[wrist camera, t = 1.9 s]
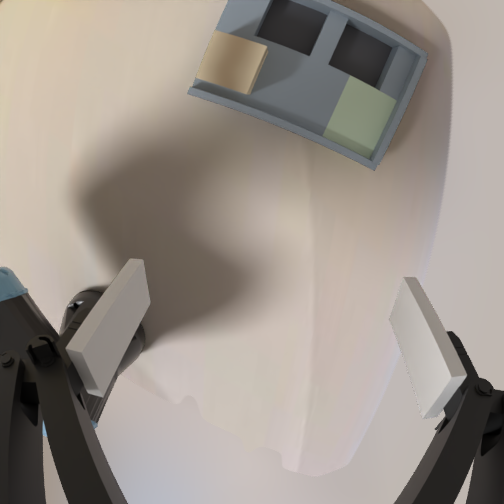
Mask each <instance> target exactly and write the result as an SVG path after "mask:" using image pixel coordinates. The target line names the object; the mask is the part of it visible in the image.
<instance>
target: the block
mask: <svg viewBox="0 0 504 504" xmlns="http://www.w3.org/2000/svg"><path fill="white" fill-rule="evenodd" d="M267 54H268V48H267V46H265V45H262V44H259V43H256V42H253V41H250V40H247V39H244V38H241V37H238V36H234V35H231V34H228V33H224V32H221V31H217V30H215V31H214V33H213V35H212V38H211V40H210V42H209V45H208V47H207V50H206V52H205V54H204V57H203V59H202V62H201V64H200V67H199V70H198V72H197V75H196V77H195V78H198V79H201V80H205V81H208V82H211V83H214V84H217V85H220V86H223V87H226V88H229V89H232V90H235V91H238V92H241V93H244V94H251V91H252V89H253V87H254V84H255V82H256V79H257V77H258V75H259V72H260V70H261V68H262V65H263V63H264V61H265V58H266V56H267Z"/></svg>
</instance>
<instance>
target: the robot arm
mask: <svg viewBox="0 0 504 504" xmlns="http://www.w3.org/2000/svg"><path fill="white" fill-rule="evenodd" d="M150 303H151V301H150V296H149V290H148V284H147V279H146V273H145V267H144V260H143V259H132V258H130V259H129V260H128V262H127V263H126V264H125V266H124V267H123V268H122V269H121V271H120V272H119V273H118V275H117V276H116V277H115V279H114V280H113V281H112V283H111V284H110V285H109V287H108V288H107V289H106V291H105V292H104V293H100V292H95V291H85V292H81V293H79V294H77V295H76V296H75V297H74V298H73V299H72V300H71V302H70V303H69V304H68V306H67V308H66V310H65V313H64V317H63V320H62V324H61V328H60V332H59V335H58V333H57V332H56V331H55V329H54V328H53V327H52V326H51V324H50V323H49V322H48V320H47V319H46V318H45V316H44V315H43V313H42V312H41V311H40V309H39V308H38V307H37V305H36V304H35V302H34V301H33V299H32V298H31V296H30V295H29V294H28V290H27V288H24V286H23V285H22V284H21V282H20V281H19V279H18V278H17V277H16V275H15V274H14V272H13V271H12V270H11V269H9V268H7V267H0V504H46V499H45V488H44V473H43V435H44V436H46V437H47V438H48V442H49V445H50V449H51V452H52V456H53V459H54V462H55V466H56V469H57V472H58V475H59V478H60V481H61V484H62V487H63V490H64V492H65V495H66V498H67V500H68V503H69V504H128V503H127V501H126V499H125V497H124V495H123V493H122V491H121V489H120V487H119V485H118V483H117V481H116V479H115V477H114V475H113V473H112V471H111V468H110V466H109V464H108V462H107V460H106V458H105V455H104V453H103V450H102V448H101V445H100V443H99V440H98V438H97V435H96V433H95V430H94V429H95V428H96V427H97V423H98V421H99V418H100V416H101V414H102V411H103V409H104V406H105V404H106V402H107V400H108V397H109V395H110V393H111V391H112V388H113V386H114V383H115V382H116V379H117V377H118V376H119V375H120V374H121V373H122V372H123V371H124V370H125V369H126V368H128V367H129V366H130V365H131V364H132V363H133V362H134V361H135V360H136V359H137V358H138V357H139V355H140V353H141V351H142V349H143V346H144V343H145V335H144V331H143V328H142V326H141V324H140V322H141V320H142V318H143V317H144V315H145V313H146V311H147V309H148V307H149V305H150ZM389 320H390V322H391V325H392V328H393V330H394V333H395V336H396V339H397V341H398V344H399V347H400V350H401V353H402V355H403V359H404V361H405V364H406V367H407V370H408V374H409V377H410V380H411V383H412V386H413V389H414V392H415V395H416V399H417V402H418V405H419V409H420V413H421V416H422V419H427V418H433V417H437V416H438V415H439V414H440V413H441V411H442V410H443V409H444V412H445V415H446V416H445V417H444V418H443V420H442V421H441V422H440V423H439V424H438V426H437V427H436V428H435V430H437V429H438V430H437V432H436V434H435V436H434V438H433V440H432V442H431V444H430V446H429V447H428V449H427V451H426V453H425V455H424V456H423V458H422V460H421V462H420V464H419V465H418V467H417V469H416V470H415V472H414V474H413V475H412V477H411V478H410V480H409V482H408V483H407V485H406V486H405V488H404V489H403V491H402V493H401V494H400V496H399V497H398V498H397V500H396V501H395V503H394V504H454V502H455V500H456V498H457V496H458V494H459V492H460V489H461V487H462V485H463V483H464V481H465V478H466V476H467V474H468V472H469V469H470V467H471V464H472V462H473V460H474V464H473V470H472V476H471V481H470V486H469V491H468V496H467V500H466V504H504V391H501V390H495V389H494V388H493V386H492V385H491V383H490V382H488V381H487V380H486V379H482V378H479V377H478V374H477V372H476V370H475V368H474V366H473V364H472V362H471V360H470V358H469V356H468V355H467V352H466V351H465V348H464V346H463V344H462V342H461V340H460V339H459V338H458V337H457V336H456V335H455V334H454V333H453V332H452V331H449V332H446V331H445V329H444V327H443V325H442V323H441V321H440V319H439V317H438V315H437V314H436V312H435V310H434V308H433V306H432V304H431V303H430V301H429V299H428V297H427V296H426V294H425V292H424V290H423V289H422V287H421V285H420V283H419V282H418V280H417V278H415V277H403V279H402V282H401V286H400V289H399V292H398V295H397V298H396V301H395V304H394V307H393V310H392V312H391V315H390V318H389Z"/></svg>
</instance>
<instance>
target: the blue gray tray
mask: <svg viewBox="0 0 504 504" xmlns="http://www.w3.org/2000/svg"><path fill="white" fill-rule="evenodd" d="M215 30H217V31H221V32H224V33H228V34H231V35H234V36H238V37H241V38H244V39H247V40H250V41H253V42H256V43H259V44H262V45H265V46H267V48H268V54H267V56H266V58H265V61H264V63H263V65H262V68H261V70H260V72H259V75H258V77H257V79H256V82H255V84H254V87H253V89H252V91H251V94H244V93H241V92H238V91H235V90H232V89H229V88H226V87H223V86H220V85H217V84H214V83H211V82H208V81H205V80H201V79H198V78H195V81H194V84H193V86H192V87H190V88H189V90H188V93H187V94H189V95H192V96H196V97H199V98H202V99H205V100H208V101H211V102H214V103H217V104H220V105H223V106H226V107H229V108H232V109H234V110H237V111H240V112H243V113H245V114H248V115H251V116H253V117H256V118H259V119H261V120H264V121H266V122H269V123H271V124H274V125H276V126H279V127H281V128H284V129H286V130H289V131H291V132H293V133H296V134H298V135H300V136H303V137H305V138H307V139H309V140H312V141H314V142H316V143H318V144H321V145H323V146H325V147H327V148H329V149H331V150H334V151H336V152H338V153H340V154H342V155H344V156H346V157H348V158H350V159H352V160H354V161H356V162H358V163H360V164H362V165H364V166H366V167H368V168H370V169H372V170H374V171H375V169H376V167H377V165H379V164H380V162H381V160H382V158H383V156H384V154H385V152H386V150H387V148H388V146H389V144H390V142H391V140H392V138H393V136H394V134H395V131H396V129H397V127H398V125H399V123H400V121H401V119H402V117H403V114H404V112H405V110H406V108H407V106H408V103H409V101H410V99H411V97H412V95H413V92H414V90H415V88H416V85H417V83H418V81H419V79H420V76H421V74H422V72H423V69H424V67H425V64H426V62H427V60H428V59H426V58H427V56H428V53H426V52H425V51H423V50H422V49H420V48H419V47H417V46H416V45H414V44H413V43H411V42H409V41H408V40H406V39H405V38H403V37H401V36H400V35H398V34H396V33H394V32H393V31H391V30H389V29H388V28H386V27H384V26H382V25H380V24H378V23H377V22H375V21H373V20H371V19H369V18H367V17H365V16H363V15H361V14H359V13H357V12H355V11H353V10H351V9H349V8H347V7H344V6H342V5H340V4H338V3H335V2H333V1H331V0H228V2H227V5H226V7H225V9H224V11H223V13H222V15H221V18H220V20H219V22H218V24H217V27H216V29H215Z"/></svg>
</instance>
